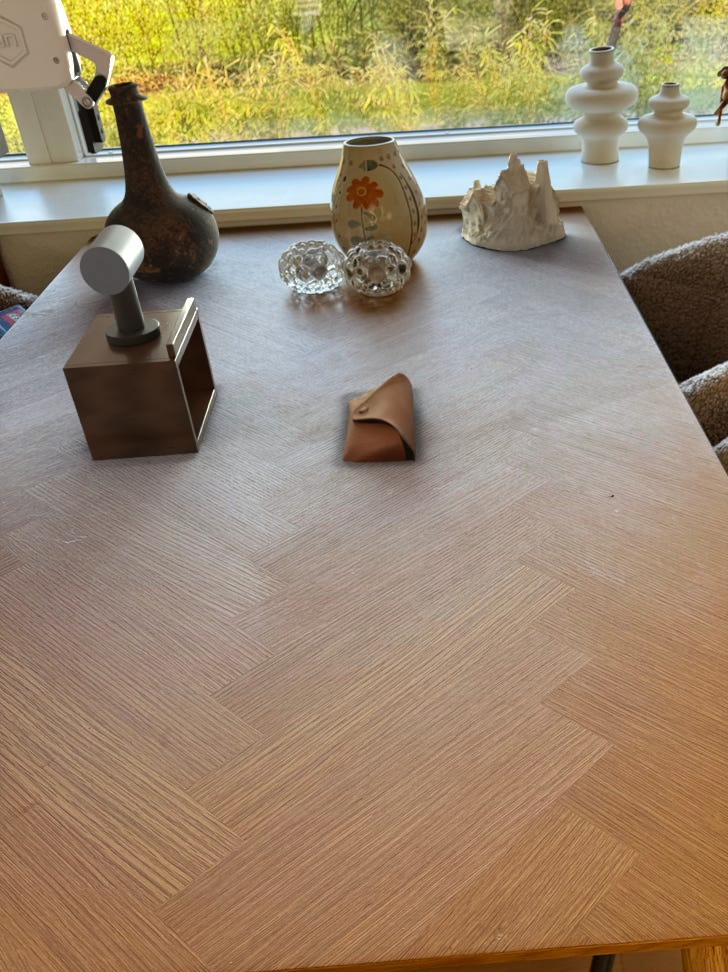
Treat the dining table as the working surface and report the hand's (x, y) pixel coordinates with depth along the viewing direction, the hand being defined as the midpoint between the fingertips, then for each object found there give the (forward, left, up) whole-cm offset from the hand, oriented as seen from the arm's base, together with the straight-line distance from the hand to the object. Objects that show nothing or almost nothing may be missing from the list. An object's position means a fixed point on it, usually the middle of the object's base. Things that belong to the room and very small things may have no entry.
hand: (49, 153), depth 97 cm
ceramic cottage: (+54, +64, -30) cm, 89 cm away
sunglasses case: (+31, -8, -30) cm, 44 cm away
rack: (+4, -1, -30) cm, 30 cm away
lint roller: (+4, -1, -19) cm, 19 cm away
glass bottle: (-4, +55, -30) cm, 63 cm away
